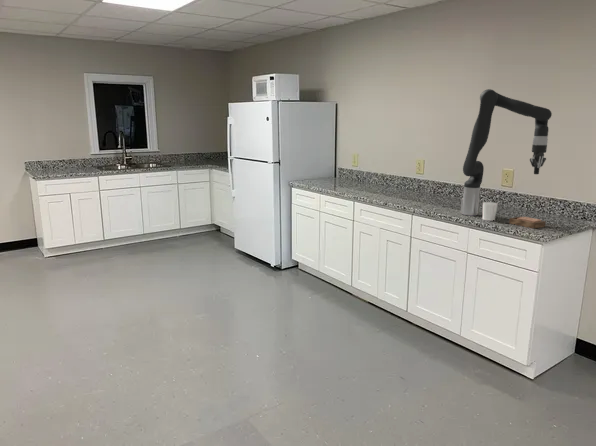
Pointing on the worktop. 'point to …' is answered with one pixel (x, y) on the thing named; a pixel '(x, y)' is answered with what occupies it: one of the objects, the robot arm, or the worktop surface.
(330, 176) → the worktop surface
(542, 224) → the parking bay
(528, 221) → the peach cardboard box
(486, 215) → the white cup
